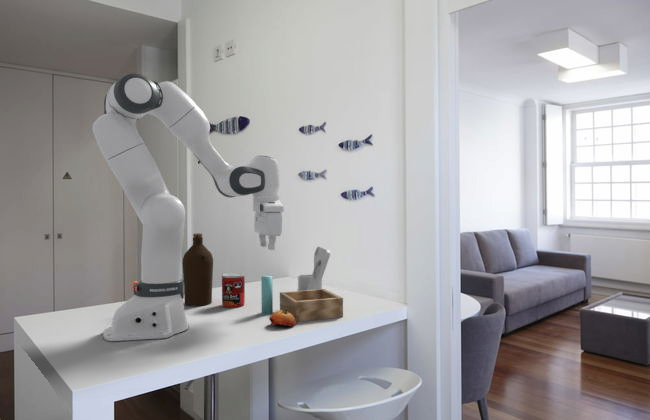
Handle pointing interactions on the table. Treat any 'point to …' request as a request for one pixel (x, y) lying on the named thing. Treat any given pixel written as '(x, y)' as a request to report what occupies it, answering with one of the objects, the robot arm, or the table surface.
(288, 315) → the tomato
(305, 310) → the box
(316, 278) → the phone holder
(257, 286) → the table surface
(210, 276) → the olive oil
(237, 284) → the canned food
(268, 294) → the peg
